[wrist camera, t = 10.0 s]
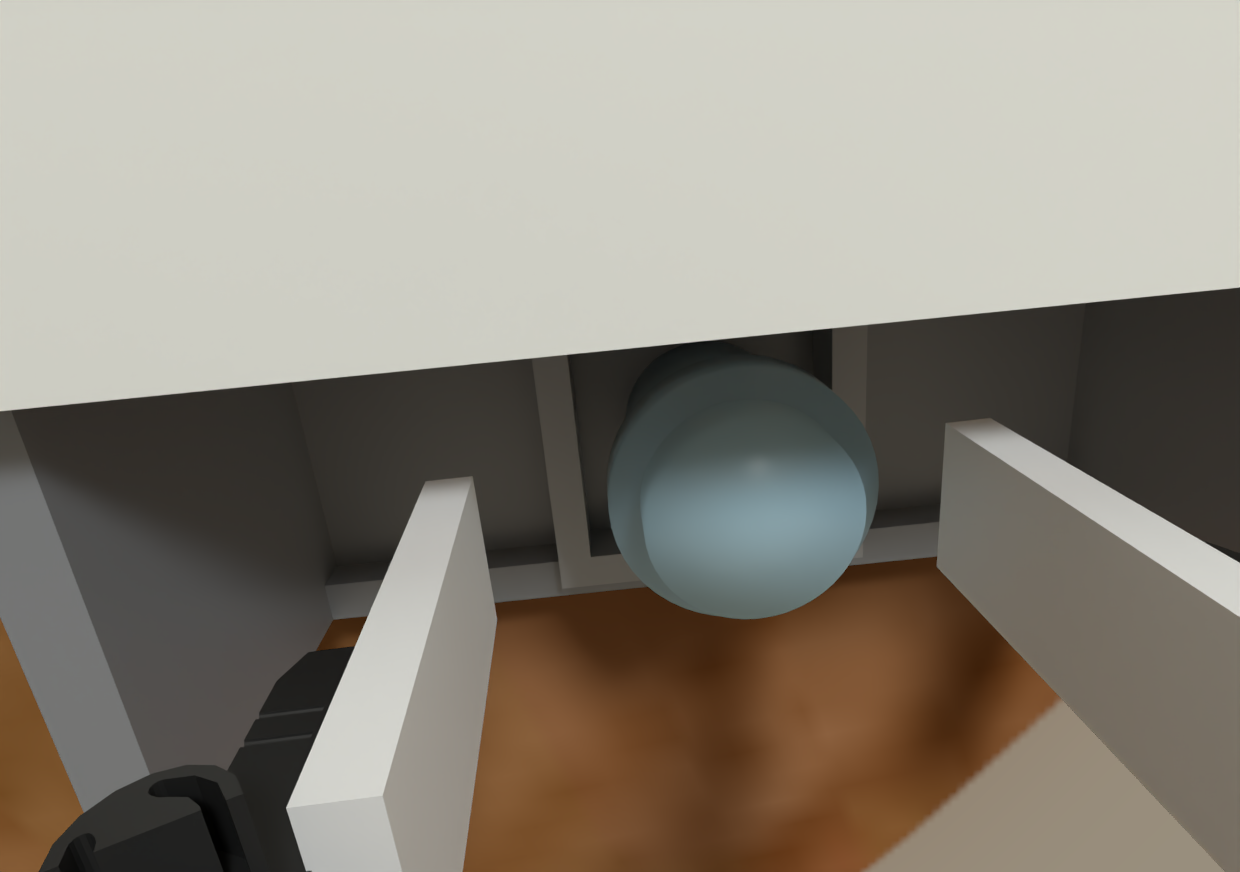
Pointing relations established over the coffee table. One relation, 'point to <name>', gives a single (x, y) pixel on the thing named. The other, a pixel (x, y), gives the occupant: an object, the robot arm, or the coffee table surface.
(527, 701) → the coffee table surface
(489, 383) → the housing
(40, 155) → the lid
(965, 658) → the coffee table surface
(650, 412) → the peg
